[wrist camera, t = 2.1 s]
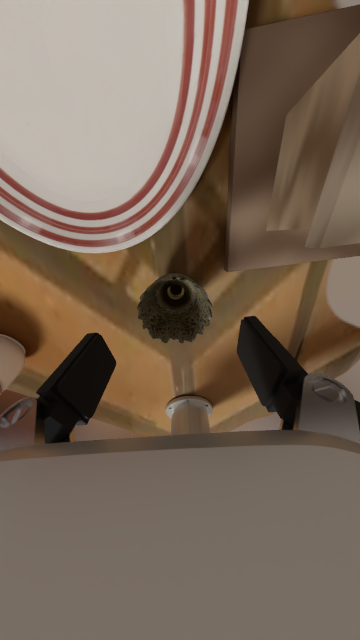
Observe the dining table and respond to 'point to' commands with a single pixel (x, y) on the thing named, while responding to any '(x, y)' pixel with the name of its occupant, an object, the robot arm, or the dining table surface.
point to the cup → (174, 309)
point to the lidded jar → (10, 360)
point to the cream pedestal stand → (295, 143)
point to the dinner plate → (110, 113)
